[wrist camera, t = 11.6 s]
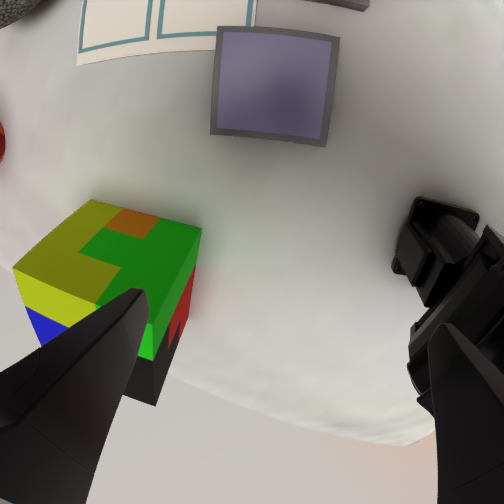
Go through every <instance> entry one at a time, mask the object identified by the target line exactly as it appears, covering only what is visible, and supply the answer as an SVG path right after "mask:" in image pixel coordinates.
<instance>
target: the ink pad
mask: <svg viewBox="0 0 504 504" xmlns="http://www.w3.org/2000/svg"><path fill="white" fill-rule="evenodd" d="M339 41H340V37H335V36H330V35H325V34H319V33H313V32H306V31H298V30H290V29H281V28H269V27H254V26H217V34H216V46H215V58H214V72H213V86H212V103H211V122H210V134H212V135H227V136H240V137H251V138H261V139H270V140H279V141H287V142H294V143H301V144H308V145H315V146H321V147H326V142H327V136H328V129H329V122H330V115H331V108H332V101H333V93H334V86H335V77H336V69H337V60H338V51H339Z"/></svg>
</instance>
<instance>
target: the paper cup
mask: <svg viewBox="0 0 504 504" xmlns="http://www.w3.org/2000/svg"><path fill="white" fill-rule="evenodd" d="M4 151H5V136H4V131H3V128H2V125H1V123H0V162H1V161H2V159H3V156H4Z"/></svg>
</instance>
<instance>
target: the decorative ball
mask: <svg viewBox="0 0 504 504" xmlns="http://www.w3.org/2000/svg"><path fill="white" fill-rule="evenodd" d="M40 1H41V0H0V29H1V28H3V27H6V26H8V25H10V24H12V23H14V22H15V21H17V20H19V19H20V18H22V17H23V16H24V15H26V14H27V13H28V12H30V11H31V10H32V9H33V8H34V7H35V6H37V5H38V4H39V3H40Z"/></svg>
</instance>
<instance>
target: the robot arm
mask: <svg viewBox="0 0 504 504" xmlns="http://www.w3.org/2000/svg"><path fill="white" fill-rule="evenodd" d="M420 202H422V205H421V206H419V207H418V205H419V203H420ZM474 216H475V218H474V219H473V217H474ZM478 222H479V214H478V213H477V212H475V211H472V210H469V209H465V208H462V207H458V206H454V205H451V204H447V203H443V202H439V201H435V200H431V199H427V198H423V197H418V198H416V199H415V200H414V202H413V206H412V209H411V212H410V215H409V218H408V221H407V223H406V224H405V225H404V228H403V231H402V234H401V237H400V239H399V242H398V245H397V248H396V251H395V253H396V255H395V258H394V261H393V263H392V267H391V268H392V270H393V272H394V273H395V274H400V275H407V278H408V280H409V282H410V284H411V286H412V287H416V289H417V291H418V293H419V295H420V298H421V300H422V302H423V304H424V306H425V307H428V308H429V309H428V310H427V312H426V313H425V314H424V315H423V316H422V317H421V319H420V320H419V321H418V322H415V323H414V324H413V326H412V327H411V331H410V342H409V346H408V349H409V359H410V361H409V362H408V363H407V370H408V373H409V375H410V378H411V381H412V384H413V386H414V388H415V389H416V391H417V392H418V394H419V395H420V396H419V397H418V398H417V402H418V403H419V404H420V405H421V406H423V407H424V408H425V409H426V410H427V411H429V412H430V414H431V415H432V416H433V417H434V419H435V429H436V442H437V461H438V498H437V504H504V237H503V236H502V235H500V234H499V233H498V232H497V231H495V230H494V229H493V228H491V227H490V226H489V225H486V227H485V228H484V230H483V235H482V236H481V238H480V237H479V236H478V235H477V234H476V233H475V229H476V227H477V224H478ZM398 266H400V267H399V268H397V269H396V267H398ZM149 314H150V310H149V304H148V299H147V294H146V291H145V290H144V289H140V288H135V287H132V288H130V289H128V290H126V291H125V292H123V293H122V294H120V295H118V296H117V297H115V298H114V299H112V300H111V301H109V302H107V303H106V304H104V305H103V306H101V307H100V308H98V309H97V310H95V311H94V312H92V313H90V314H89V315H87V316H86V317H84V318H83V319H81V320H80V321H78V322H77V323H75V324H74V325H72V326H71V327H69V328H68V329H66V330H65V331H63V332H62V333H60V334H59V335H57V336H56V337H54V338H53V339H51V340H50V341H48V342H47V343H45V344H44V345H42V346H41V348H38V349H36V350H35V351H34V352H32V353H31V354H29V355H28V356H26V357H25V358H23V359H21V360H20V361H18V362H17V363H15V364H13V365H12V366H10V367H9V368H7V369H5V370H3V371H2V372H0V504H86V500H87V497H88V493H89V490H90V487H91V484H92V480H93V477H94V473H95V470H96V467H97V464H98V461H99V458H100V455H101V452H102V449H103V446H104V443H105V441H106V438H107V435H108V432H109V429H110V427H111V424H112V421H113V418H114V416H115V413H116V410H117V408H118V405H119V402H120V400H121V397H122V395H123V392H124V390H125V387H126V384H127V382H128V379H129V377H130V374H131V372H132V370H133V367H134V365H135V362H136V359H137V356H138V353H139V349H140V346H141V342H142V339H143V335H144V332H145V329H146V325H147V322H148V319H149Z"/></svg>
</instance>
